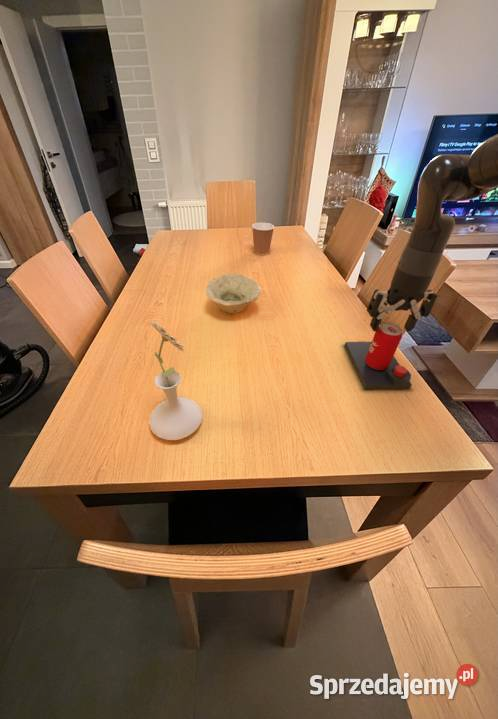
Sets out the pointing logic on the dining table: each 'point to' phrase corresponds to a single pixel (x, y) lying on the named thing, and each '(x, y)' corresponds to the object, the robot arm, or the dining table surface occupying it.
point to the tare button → (399, 371)
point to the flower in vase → (172, 401)
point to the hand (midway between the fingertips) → (390, 329)
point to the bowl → (233, 292)
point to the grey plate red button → (374, 377)
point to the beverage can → (383, 346)
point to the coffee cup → (262, 237)
